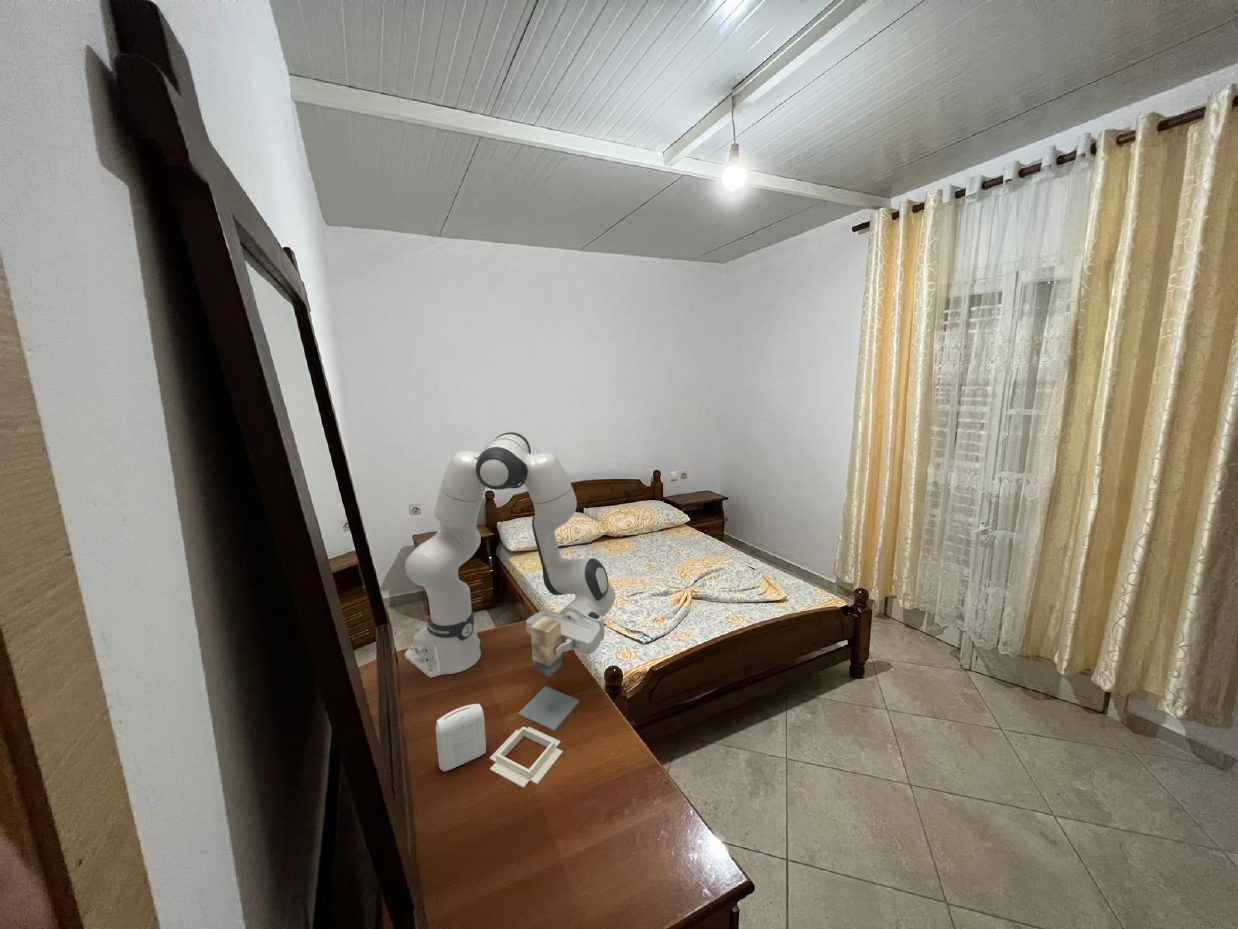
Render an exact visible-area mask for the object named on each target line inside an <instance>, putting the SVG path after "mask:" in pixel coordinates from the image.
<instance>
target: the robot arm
mask: <svg viewBox="0 0 1238 929" xmlns="http://www.w3.org/2000/svg"><path fill="white" fill-rule="evenodd" d="M531 450H532V449H531V445H530V443H529V441H528V439H527V438H526V437H525V436H523V435H522V434H521V433H518V432H513V431H510V432H505V433H502V434H499V435H498V436H497V437H495V438H494V439H493V440H492V441H491V442H489V444H488V445H487V446H485V448H484V450H483V451H482V452H477V451H473V450H461V451H458V452H456V453H455V454H453V456H452V457H451V459H450V460H449V463H448V466H447V468H446V469H445V472H444V475H443V478H442V481H441V484H440V488H439V492H438V496H437V499H436V503H435V507H434V516H435V518H436V519H437V521H438V522H439V527H438V531H437V532H436V533H435V534H434V535H433V536H432V537H430V538H429V539H427V540H426V541H424V542H423V543H420V544H419V545H418V546H417V547H416V548H414V550H413V551H412V552H411V553H410V554H409V555H408V557H407V558H406V560H405V564H404V568H405V572H406V575H407V577H408V578H409V580H411V582H413V583H414V584H415V585H417V586H420V587H423V590H424V591H425V593H426V595H427V599H428V606H429V615H427V616H424V617H423V618H424V619H425V620H424V622H427V621H428V622H427V625H425V626H423V628H421V629H420V630H419V631H417V633H416V634H415V635H414V636H413V638H412V645H411V646H410V647H408V649H407V650H406V651H405V653H404V658H405V659H406V660H407V661H408V662H410V663H411V664H412V665H414V667H416V668H417V669H419V671H421V672H422V673H424V675H426V676H427V677H428V678H435V677H439V676H441V675H442V676H444V675H453V674H457V673H458V674H459V673H460V672H464V671H466V670H468V669H470V668H471V667H473V666H475V665H476V664H477V663H478V661H479V660H480V658H481V656H482V651H481V647H480V645H481V639H480V638H479V637H478V633H477V628H476V623H475V614H474V610H473V609H472V601H471V589H470V587H469V585H468V584H467V583H466V582H464V581H463V580H460V577H459V569H460V567H461V566H462V565H464V564H465V563H466V562H467V561H469V560H470V559H471V558H472V557H473V556H474V554H475V553H476V552H477V551H478V549H479V547H480V545H481V543H482V542H481V540H482V538H481V533H480V532H479V530H478V529H477V522H478V516H479V513H480V509H481V506H482V502H483V498H484V495H485V491H486V489H491V490H493V491H494V490H495V491H499V490H507V489H520V488H521V487H522V486H523V487H524V488H526V491H527V493H528V495H529V498H530V500H531V502H532V504H533V509H534V515H533V517H532V521H531V526H532V527H531V528H532V533H533V536H534V541H535V544H536V549H537V553H538V556H539V560H540V563H541V568H542V569H541V570H542V578H543V583H544V586H545V588H546V590H547V591H548V592H549V593H550V594H551V595H553V596H562V595H574V596H575V598H574V599H573V600H572V601H571V602H570V603H568V604H567V605H565V607H563V608H562V609H561V610H560V612H555V611H552V610H549V609H548V610H547V609H543V610H539V611H538V612H536V613H534V614H533V615H530V616H529V618H527V619H526V621H525V630H526V633H527V634H528V635H531V626H533V625H534V624H535V623H536V622H538V621H539V620H540V619H541V618H542V617H547V618H550V619H553V620H556V621H559V622H560V624H561V645H559V644H557V645H556V646H554V648H553V654H556V655H560V654H561V653H565V652H569V651H571V650H574V651H576V652H580V653H582V654H586V655H591V654H593V653H595V652H596V650H598V648H599V647H600V645H601V642H602V641H603V640H604V639H605V620H604V617H605V616H606V615H607V614H608V613H609V612H610V611H611V609H612V607H613V605H614V603H615V601H616V591H615V588H614V586H613V585H612V584H611V583H610V582H609V578H608V574H607V571H606V569H605V567H604V565H603V564H602V563H601V561H600V560H598V559H597V558H594V557H593V558H591V557H589V558H573V559H572V558H571V559H569V558H568V559H567V558H565V557H563V556H562V555H561V553H560V550H559V547H558V546H559V545H558V541H557V539H556V538H557V537H556V534H555V533H556V530H558V529H559V528H561V527H562V526H564V525H565V524H566V523H568V522H569V521H570V520H571V518H573V516H574V514H575V513H576V510H577V506H578V504H577V502H578V501H577V497H576V494H575V491H574V489H573V486H572V484H571V481H570V479H569V476H568V475H567V472H566V471H565V469H564V467H563V466H562V464H561V463H560V460H559V459H558V457H557V456H555V455H554V454H552V453H550V452H541V453H540V452H539V453H536V454H531V453H532V451H531ZM411 649H412V650H411Z"/></svg>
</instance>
